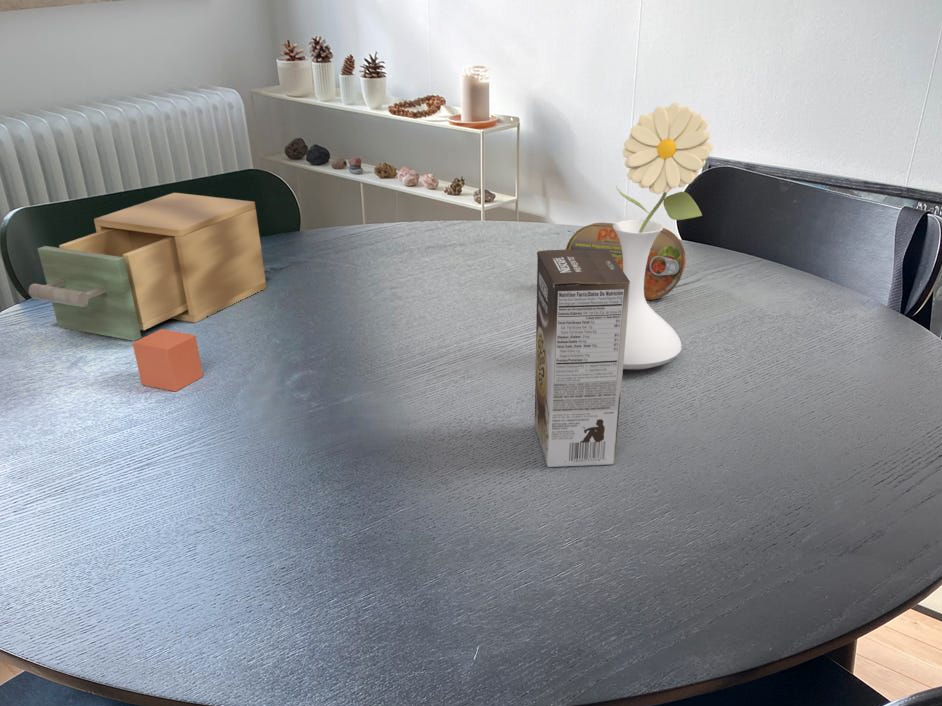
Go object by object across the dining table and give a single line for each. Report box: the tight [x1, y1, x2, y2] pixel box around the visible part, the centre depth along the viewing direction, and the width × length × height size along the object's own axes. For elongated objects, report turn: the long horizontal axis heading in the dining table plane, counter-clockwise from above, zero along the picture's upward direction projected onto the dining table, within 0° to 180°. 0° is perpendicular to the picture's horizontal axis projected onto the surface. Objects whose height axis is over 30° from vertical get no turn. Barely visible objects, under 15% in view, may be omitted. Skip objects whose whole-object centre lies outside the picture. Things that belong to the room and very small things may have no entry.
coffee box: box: [534, 248, 630, 468], centre depth 85 cm, size 9×6×16 cm
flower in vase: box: [613, 102, 713, 370], centre depth 99 cm, size 13×11×25 cm
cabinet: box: [93, 192, 267, 323], centre depth 122 cm, size 15×13×11 cm
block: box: [132, 328, 204, 393], centre depth 102 cm, size 4×4×4 cm
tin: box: [565, 222, 686, 301], centre depth 122 cm, size 15×3×8 cm, turn 68°
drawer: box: [28, 228, 188, 342], centre depth 113 cm, size 18×11×9 cm, turn 155°
